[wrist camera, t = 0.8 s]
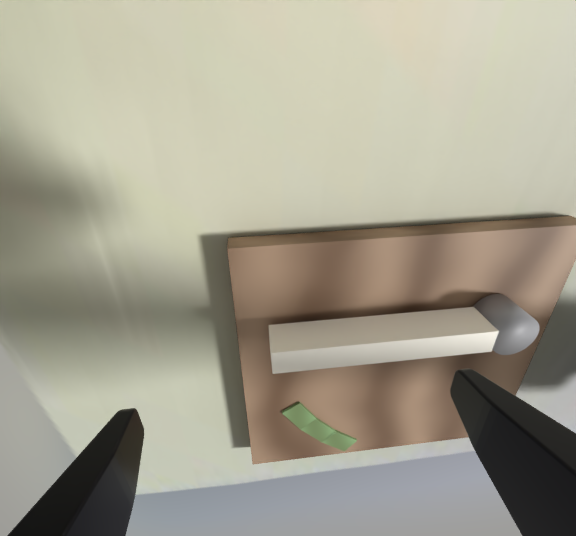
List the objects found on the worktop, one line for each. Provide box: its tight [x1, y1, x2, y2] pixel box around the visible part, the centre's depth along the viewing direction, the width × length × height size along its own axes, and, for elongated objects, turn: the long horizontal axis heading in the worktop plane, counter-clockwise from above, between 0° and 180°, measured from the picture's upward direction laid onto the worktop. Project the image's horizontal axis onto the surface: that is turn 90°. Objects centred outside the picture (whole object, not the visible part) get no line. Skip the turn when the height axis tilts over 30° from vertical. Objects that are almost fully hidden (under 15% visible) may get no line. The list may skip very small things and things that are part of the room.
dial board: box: [227, 216, 576, 464], centre depth 25 cm, size 22×20×2 cm
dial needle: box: [269, 294, 539, 374], centre depth 21 cm, size 16×3×3 cm, turn 91°
